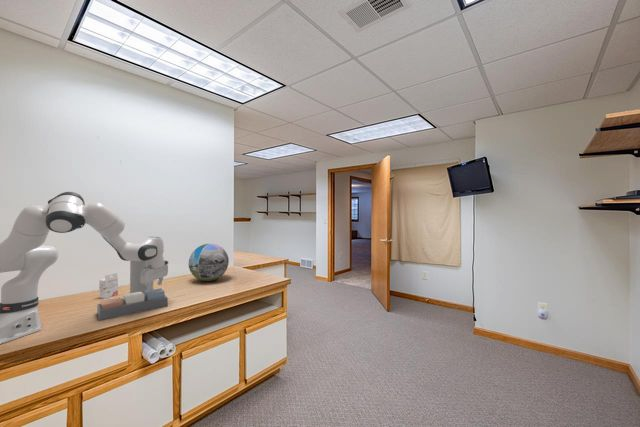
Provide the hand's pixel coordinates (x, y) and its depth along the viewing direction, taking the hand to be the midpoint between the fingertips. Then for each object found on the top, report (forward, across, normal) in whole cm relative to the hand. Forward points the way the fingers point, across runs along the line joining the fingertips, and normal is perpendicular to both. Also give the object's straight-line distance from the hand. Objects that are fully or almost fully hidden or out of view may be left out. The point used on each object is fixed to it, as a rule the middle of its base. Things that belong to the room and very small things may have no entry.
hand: (154, 287), depth 156 cm
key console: (+11, -7, +7) cm, 15 cm away
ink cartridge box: (+11, +15, +40) cm, 44 cm away
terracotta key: (+8, -14, +14) cm, 22 cm away
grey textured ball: (+11, +58, -7) cm, 59 cm away
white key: (+6, -7, +7) cm, 12 cm away
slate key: (+6, 0, 0) cm, 6 cm away
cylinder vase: (+11, +15, +18) cm, 26 cm away
